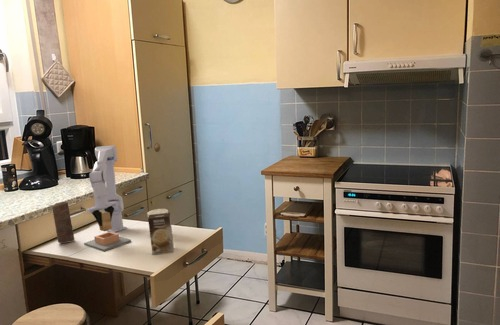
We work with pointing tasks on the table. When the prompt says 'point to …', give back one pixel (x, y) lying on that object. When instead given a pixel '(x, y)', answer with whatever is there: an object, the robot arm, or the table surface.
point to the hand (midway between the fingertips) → (104, 224)
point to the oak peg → (105, 221)
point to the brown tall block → (63, 222)
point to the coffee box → (161, 233)
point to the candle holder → (157, 211)
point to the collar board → (107, 241)
